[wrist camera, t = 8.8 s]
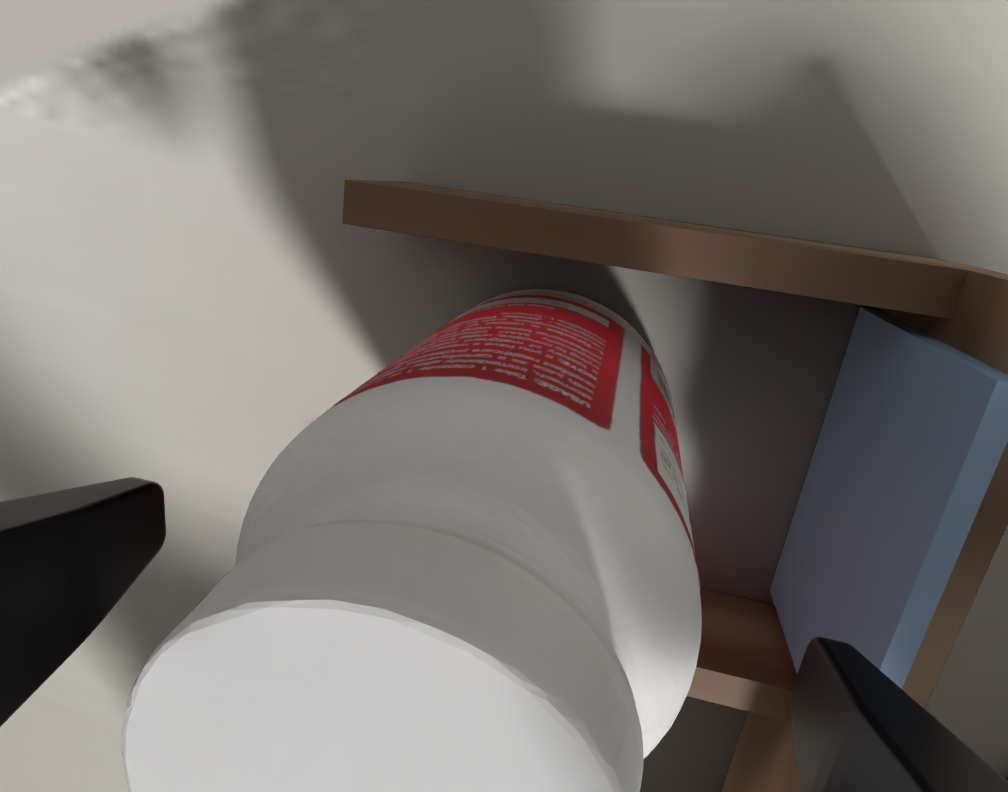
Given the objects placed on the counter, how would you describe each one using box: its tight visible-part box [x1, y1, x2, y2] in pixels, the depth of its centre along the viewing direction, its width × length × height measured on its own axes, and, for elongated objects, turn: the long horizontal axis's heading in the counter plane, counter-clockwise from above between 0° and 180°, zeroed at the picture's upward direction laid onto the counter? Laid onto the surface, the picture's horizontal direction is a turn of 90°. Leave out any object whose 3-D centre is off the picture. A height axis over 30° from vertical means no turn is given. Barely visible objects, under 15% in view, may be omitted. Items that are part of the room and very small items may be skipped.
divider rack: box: [343, 180, 1008, 792], centre depth 14 cm, size 18×12×6 cm, turn 172°
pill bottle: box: [122, 289, 702, 792], centre depth 11 cm, size 6×6×11 cm
